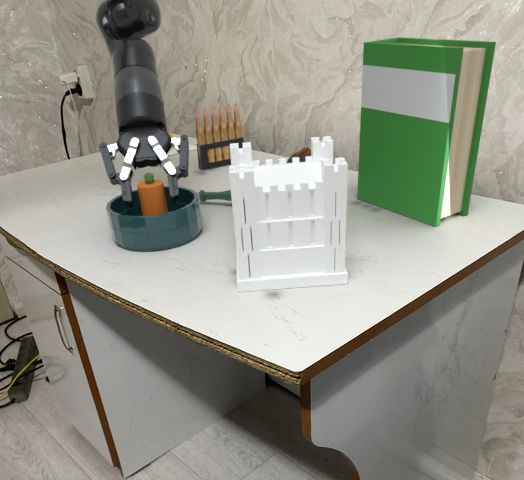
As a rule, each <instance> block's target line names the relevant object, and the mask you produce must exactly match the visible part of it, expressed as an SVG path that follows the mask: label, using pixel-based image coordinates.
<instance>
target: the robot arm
mask: <svg viewBox="0 0 524 480" xmlns="http://www.w3.org/2000/svg"><path fill="white" fill-rule="evenodd" d="M95 23H96V26H97V29H98V31H99V33H100V35H101V38H102V39H103V41H104V44H105V47H106V50H107V52H108V55H109V57H110V61H111V65H112V66H111V67H112V73H113V85H114V86H113V97H114V105H115V114H116V121H117V128H118V129H117V130H118V138H117V140H116V142H115V143H112V144H111V143H110V144H107V143H106V142H101V143H99V145H98V147H99V151H100V154H101V158H102V162H103V165H104V168H105V172H106V174H107V177H108V180H109V182H110V184H111V185H112V186H116V185H118V186H120V189H121V194H122V198H123V201H124V203H125V205H128V206H129V208H130V209H131V208H134V201H133V193H132V191H133V187H132V181H133V178H134V176H135V175H136V174H137V170H138V169H144V168H147V167H151V168H155V167H160V169H161V170H162V173H164V174H165V175H166V176H167V183H168V186H169V192H170V199H171V203H172V204H176V200H179V197H180V196H179V189H178V187H179V180H180V179H181V178H187V177H188V176H189V165H190V164H189V162H190V161H189V159H190V151H189V144H190V143H189V137H188V135H187V134H181V135H180V136H179V137H180V138H174V137H173V138H171V136H170V135H169V134H170V133H169V132H168V126H167V119H166V111H165V101H164V97H163V92H162V87H161V83H160V79H159V72H158V63H157V58H156V53H155V51H154V49H153V47H152V45H151V44H150V43H149V42H148V41H146V40H144V38H146V37H148V36H150V35H152V34H155V33H156V32H157V31H158V30H159V29H160V27H161V25H162V9H161V7H160V4H159V2H158V1H157V0H102V1H101V2H100V3H99V4H98V6H97V7H96V11H95ZM172 146H174V147H175V148H176V151H177V152H178V153H177V154H179V165H177V166H174V164H173V163H172V162H171V160H170V158H169V155H168V156H167V153H168V152H169V150H170V149H171V147H172ZM118 153H120V154H121V155H122V156H123V157H124V159H123V165H122V168H121V171H120V172H116V168H115V165H114V161H115V160H116V158H117V154H118Z"/></svg>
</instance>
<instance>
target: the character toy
mask: <svg viewBox="0 0 524 480" xmlns="http://www.w3.org/2000/svg"><path fill="white" fill-rule="evenodd" d="M168 134H169V135H170V136H171V138H180V137H181V136H176V137H175V136H174V135H173V133H168ZM194 150H197V145H193V144H190V143H189V152H191V151H194ZM178 154H179V153H178V152H177V151H176V148H175V147H174V146H172V147H171V149H170V150H169V152H168V153H167V156H168V157H169V156H172V155H178Z"/></svg>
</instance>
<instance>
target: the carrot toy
mask: <svg viewBox="0 0 524 480" xmlns="http://www.w3.org/2000/svg"><path fill="white" fill-rule="evenodd" d="M143 178H144V179H143V180H141V181H139V182H138V183H137V184H136V187H137V188H136V189H138V193H139V198H140V204H141V209H142V214H143V216H148V215H157V214H163V213H167V212H168V208H167V202H166V196H165V190H164V186H165V185H164V181H163V180H162V179H156V178H155V177H154V175H153V173H152V172H149V171H148V172H146V173H145V174H144V175H143Z"/></svg>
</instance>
